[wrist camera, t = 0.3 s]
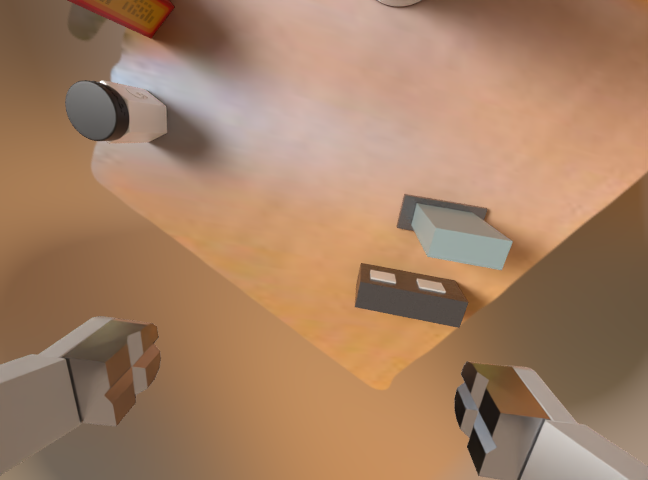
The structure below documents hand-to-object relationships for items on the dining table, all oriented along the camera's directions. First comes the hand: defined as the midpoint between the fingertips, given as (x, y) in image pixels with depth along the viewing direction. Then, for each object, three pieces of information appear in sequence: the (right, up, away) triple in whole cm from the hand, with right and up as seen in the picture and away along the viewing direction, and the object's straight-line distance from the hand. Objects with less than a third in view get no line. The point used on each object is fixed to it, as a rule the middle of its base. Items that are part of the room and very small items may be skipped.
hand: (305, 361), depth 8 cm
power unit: (+16, -5, +51) cm, 53 cm away
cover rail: (+21, +7, +46) cm, 51 cm away
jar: (-32, +26, +47) cm, 62 cm away
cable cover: (+21, +7, +45) cm, 50 cm away
